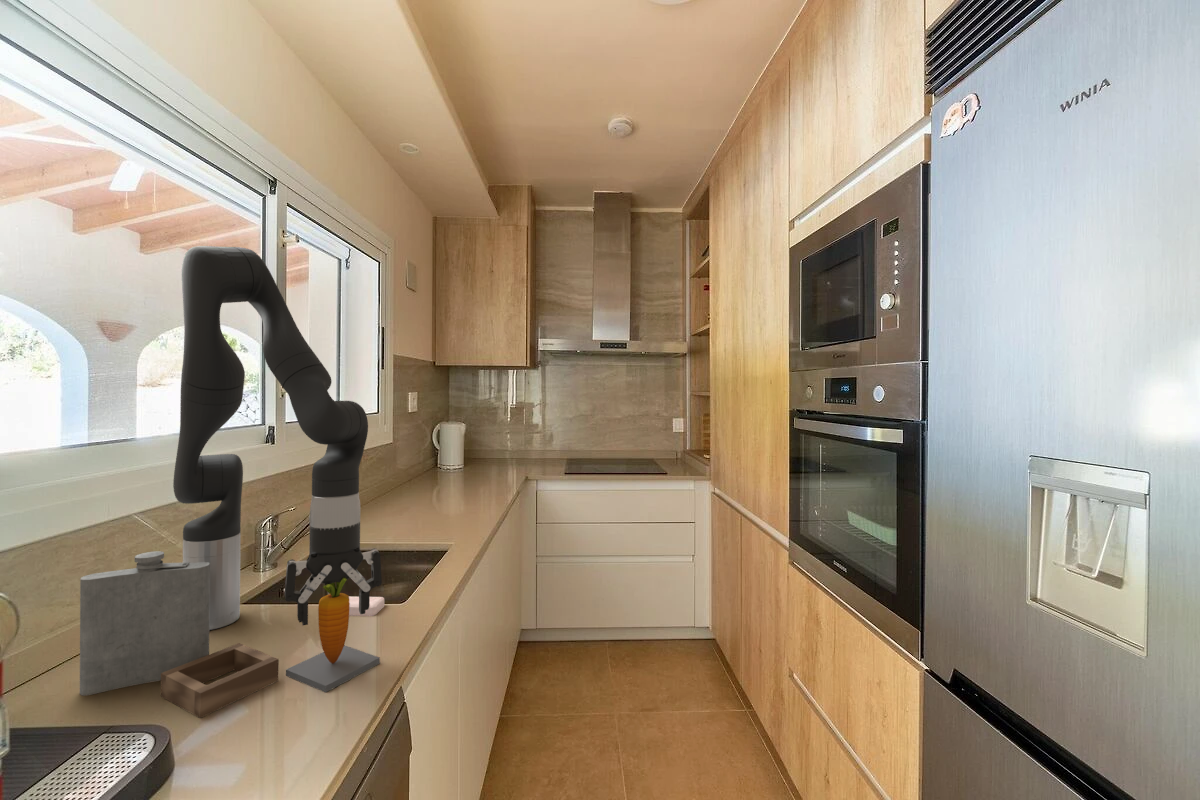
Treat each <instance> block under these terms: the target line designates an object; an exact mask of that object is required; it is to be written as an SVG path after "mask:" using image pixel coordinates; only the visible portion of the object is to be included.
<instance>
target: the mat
mask: <svg viewBox="0 0 1200 800" xmlns="http://www.w3.org/2000/svg"><path fill="white" fill-rule="evenodd" d="M380 663H381V659H380V657H379V656H377V655H374V654H371V653H368V652H365V651H363V650H360V649H357V648H353V647H351V646H348V645H346V644H344V647H343V649H342V652H341V654H340V656H339V658H338V660H337V661H336V662H335V663H334V664H332V663H330V662H329V660H328V659H327V657H326V656H325V653H324V651H323V652H320V653H318V654H316V655H313V656H312V657H309V658H307V659H305V660H303V661H301V662H299V663H297V664H294V665H293V666H290V667H288V668H286V669H285V676H286V677H289V678H291V679H293V680H295V681H297V682H300V683H302V684H305V685H308V686H310V687H312V688H314V689H317V690H319V691H321V692H324V693H327V692H330V690H333V689H335V688H336V687H339V686H340V685H342V684H344V683H346V682H348V681H349V680H351V679H353V678H355V677H357V676H359V675H361V674H363V673H364V672H366V671H368V670H370V669H372V668H374V667H375V666H376V667H377V666H378V665H379V664H380Z"/></svg>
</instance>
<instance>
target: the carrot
mask: <svg viewBox="0 0 1200 800" xmlns="http://www.w3.org/2000/svg"><path fill="white" fill-rule="evenodd" d="M346 581H348V580H347V579H346V578H343V579H342V580H341V582H334V583H332V584H327V585H323V586H322V589H324V590H325V591H326V592H327V593H328V594H327V595H324V596H322V597H321V598H320V599H319V602H318V610H317V611H318V618H317V619H318V634H319V637H320V638H319V639H320V645H321V648H322V651H323V652H324V653H325V656H326V657H327V659H328V660H329V662H330V663H332V664H334V663H335V662H336V661H337V660H338V658H339V656H340V654H341V652H342V649H343V647H344V645H346V644H345V643H346V640H347V635H348V629H349V623H350V622H349V621H350V615H349V606H350V603H349V595H348V594H347V593H344V592H341V591H342V589H343V587H344V585H345V583H346Z"/></svg>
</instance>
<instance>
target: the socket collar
mask: <svg viewBox="0 0 1200 800" xmlns="http://www.w3.org/2000/svg"><path fill="white" fill-rule="evenodd" d="M233 671H236V672H234V673H231V672H233ZM227 673H231V674H229V675H227ZM225 674H226V675H227V676H225V677H223V678H220V679H217V680H216V681H213V682H211V683H209V684H204V683H207V682H209V681H212V680H214V679H216V678H218V677H221V676H223V675H225ZM276 682H279V658H277V657H275V656H272V655H270V654H267V653H265V652H262V651H260V650H257V649H256V648H252V647H250V646H247V645H245V644H243V643H240V642H238V643H236V644H233V645H230V646H228V647H224V648H222V649H219V650H217V651H214V652H212V653H209V655H207V656H204V657H202V658H199V659H196V660H194V661H191V662H189V663H186V664H183V665H181V666H178V667H176V668H173V669H170V670H168V671H165V672H163V673H161V680H160V697H161V698H162V699H165V700H166V701H168V702H170V703H172V704H174V705H175V706H178V707H179V708H181V709H183V710H184V711H186V712H189V713H191V714H192V715H194V716H196V717H198V718H199V719H202V718H203V717H205V716H207V715H209V714H212V713H214V712H215V711H218V710H220V709H222V708H224V707H226V706H228V705H231V704H233V703H235V702H237V701H239V700H241V699H243V698H245V697H247V696H250V695H251V694H254V693H256V692H258V691H260V690H262V689H264V688H266V687H268V686H271V685H272V684H274V683H276Z"/></svg>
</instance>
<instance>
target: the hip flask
mask: <svg viewBox="0 0 1200 800" xmlns="http://www.w3.org/2000/svg"><path fill="white" fill-rule="evenodd" d="M164 558H165V552H164V551H159V550H158V551H147V552H142V553H139V554H136V555H134V562H135V563H136V567H134V568H128V569H127V568H125V569H117V570H111V571H104V572H96V573H91V574H88V575H87V574H86V575H84V576H81V577H80V580H79V581H80V583H79V585H80V588H79V589H80V590H79V595H80V597H79V602H80V603H79V695H81V696H92V695H95V694H100V693H104V692H108V691H113V690H117V689H122V688H128V687H131V686H137V685H143V684H147V683H154V682H159V681H160V682H161V673H163V672H165V671H168V670H170V669H173V668H176V667H178V666H181V665H183V664H186V663H189V662H191V661H194V660H196V659H199V658H202V657H204V656H207V655H209V654H210V630H209V607H210V563H208V562H199V563H190V562H183V561H182V562H164V561H163V560H162V559H164Z"/></svg>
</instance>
